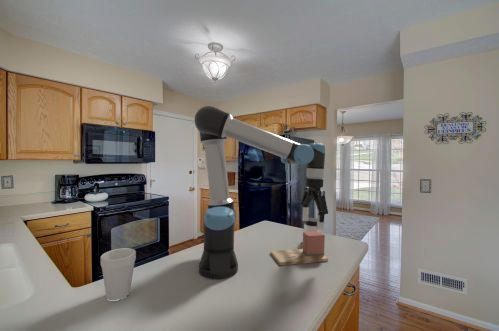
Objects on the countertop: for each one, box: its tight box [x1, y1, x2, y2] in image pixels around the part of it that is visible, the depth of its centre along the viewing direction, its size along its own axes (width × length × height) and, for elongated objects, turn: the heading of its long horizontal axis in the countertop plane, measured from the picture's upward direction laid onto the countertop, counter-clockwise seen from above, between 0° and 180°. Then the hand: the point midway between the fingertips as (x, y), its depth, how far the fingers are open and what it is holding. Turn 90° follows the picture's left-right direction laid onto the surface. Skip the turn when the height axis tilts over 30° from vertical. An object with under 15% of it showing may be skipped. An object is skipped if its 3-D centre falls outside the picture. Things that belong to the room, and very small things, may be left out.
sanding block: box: [302, 231, 326, 256], centre depth 103 cm, size 8×5×9 cm, turn 102°
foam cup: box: [100, 247, 137, 300], centre depth 71 cm, size 10×9×13 cm
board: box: [270, 248, 329, 266], centre depth 102 cm, size 22×12×1 cm, turn 103°
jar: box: [303, 217, 322, 233], centre depth 122 cm, size 9×8×12 cm
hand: (312, 224), depth 103 cm, fingers open, 13 cm apart
